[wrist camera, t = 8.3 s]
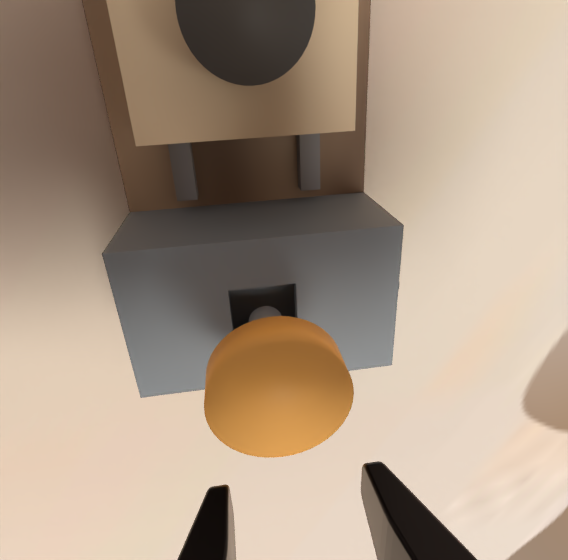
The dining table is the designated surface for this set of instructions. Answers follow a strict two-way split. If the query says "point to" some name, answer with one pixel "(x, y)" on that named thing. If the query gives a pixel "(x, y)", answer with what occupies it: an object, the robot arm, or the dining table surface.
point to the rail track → (229, 146)
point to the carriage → (236, 67)
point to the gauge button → (276, 386)
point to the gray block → (253, 280)
